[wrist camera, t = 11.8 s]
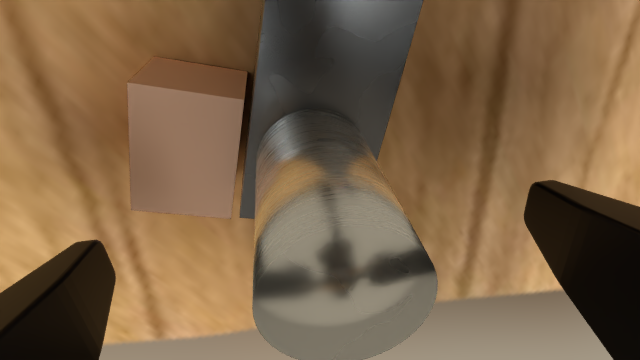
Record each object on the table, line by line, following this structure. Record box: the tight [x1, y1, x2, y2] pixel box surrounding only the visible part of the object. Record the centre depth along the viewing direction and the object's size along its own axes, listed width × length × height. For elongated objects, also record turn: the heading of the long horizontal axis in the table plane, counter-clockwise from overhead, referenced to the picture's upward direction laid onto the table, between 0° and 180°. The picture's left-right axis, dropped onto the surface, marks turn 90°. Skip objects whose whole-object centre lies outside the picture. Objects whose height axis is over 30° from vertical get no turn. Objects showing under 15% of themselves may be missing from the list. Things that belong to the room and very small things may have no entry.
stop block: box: [127, 56, 247, 219], centre depth 13 cm, size 4×3×3 cm
